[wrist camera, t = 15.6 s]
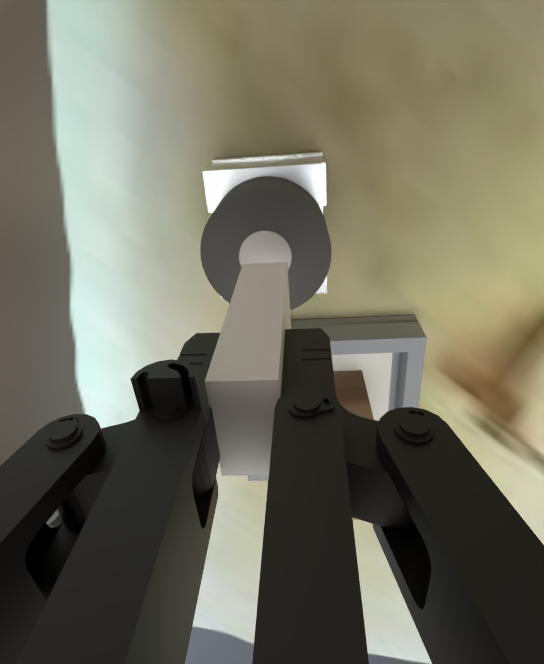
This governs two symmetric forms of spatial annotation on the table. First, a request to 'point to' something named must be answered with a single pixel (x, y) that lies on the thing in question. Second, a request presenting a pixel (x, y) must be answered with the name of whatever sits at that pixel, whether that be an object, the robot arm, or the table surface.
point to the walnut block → (353, 393)
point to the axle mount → (291, 166)
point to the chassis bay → (376, 357)
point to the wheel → (267, 236)
